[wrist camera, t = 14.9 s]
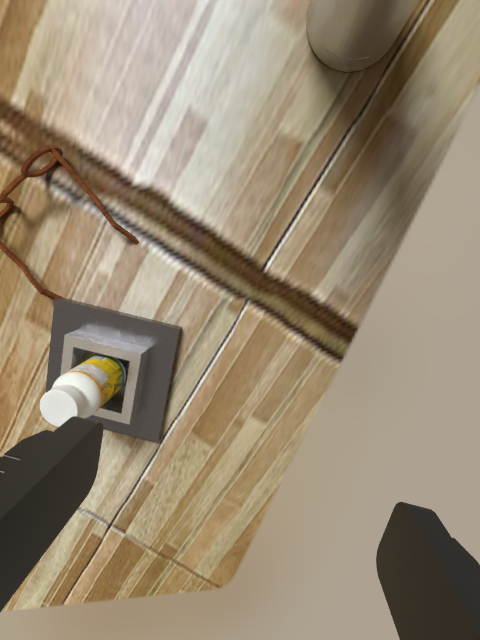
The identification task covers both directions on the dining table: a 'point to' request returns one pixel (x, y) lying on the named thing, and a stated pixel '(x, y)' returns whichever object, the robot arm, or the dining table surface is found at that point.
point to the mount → (131, 349)
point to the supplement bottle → (83, 389)
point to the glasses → (26, 173)
